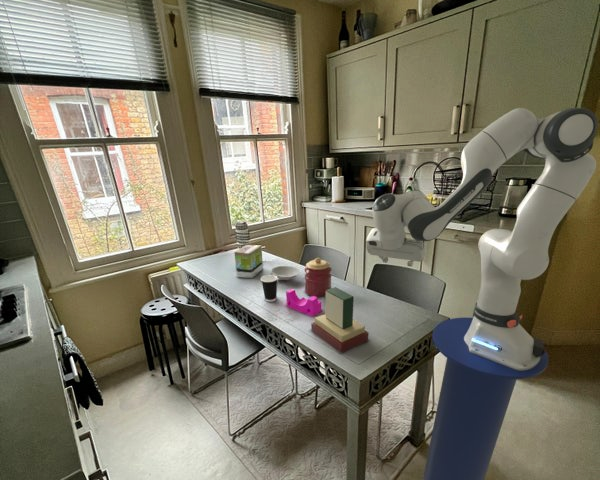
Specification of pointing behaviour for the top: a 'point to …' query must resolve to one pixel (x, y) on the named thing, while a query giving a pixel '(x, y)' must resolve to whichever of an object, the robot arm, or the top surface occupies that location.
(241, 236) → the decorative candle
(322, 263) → the kitchen canister
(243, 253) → the tea box
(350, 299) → the book
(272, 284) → the dixie cup
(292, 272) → the dish
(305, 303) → the toy block
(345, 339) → the book stack
